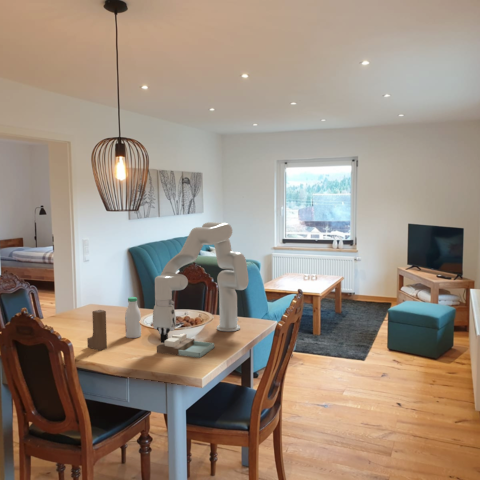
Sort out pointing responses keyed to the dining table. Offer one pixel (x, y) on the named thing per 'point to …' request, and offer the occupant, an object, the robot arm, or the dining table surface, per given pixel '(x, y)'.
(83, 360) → the dining table surface
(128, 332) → the milk bottle
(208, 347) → the tray
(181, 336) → the tile
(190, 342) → the walnut board
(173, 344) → the tile
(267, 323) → the dining table surface
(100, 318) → the wooden block
